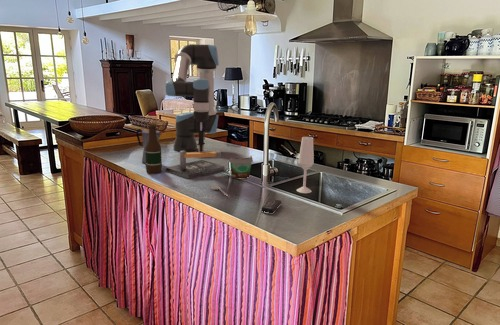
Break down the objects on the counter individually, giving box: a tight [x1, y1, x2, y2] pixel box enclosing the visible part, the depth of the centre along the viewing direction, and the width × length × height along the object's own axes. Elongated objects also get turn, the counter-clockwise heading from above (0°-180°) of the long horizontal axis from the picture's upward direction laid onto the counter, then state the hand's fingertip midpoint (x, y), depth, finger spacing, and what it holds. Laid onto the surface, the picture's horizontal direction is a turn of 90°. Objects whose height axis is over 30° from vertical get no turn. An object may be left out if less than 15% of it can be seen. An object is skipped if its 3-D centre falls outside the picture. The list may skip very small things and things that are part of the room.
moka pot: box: [135, 128, 162, 164], centre depth 203 cm, size 10×15×20 cm, turn 78°
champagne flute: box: [296, 136, 315, 194], centre depth 163 cm, size 7×7×24 cm
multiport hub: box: [261, 198, 282, 214], centre depth 144 cm, size 4×11×2 cm, turn 158°
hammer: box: [179, 149, 222, 170], centre depth 187 cm, size 20×5×9 cm, turn 105°
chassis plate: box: [165, 159, 226, 180], centre depth 192 cm, size 24×18×2 cm
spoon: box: [210, 183, 229, 197], centre depth 159 cm, size 4×21×2 cm, turn 32°
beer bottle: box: [145, 123, 163, 175], centre depth 185 cm, size 8×8×24 cm
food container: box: [228, 155, 254, 179], centre depth 181 cm, size 12×6×10 cm, turn 117°
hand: (201, 157), depth 190 cm, fingers closed
